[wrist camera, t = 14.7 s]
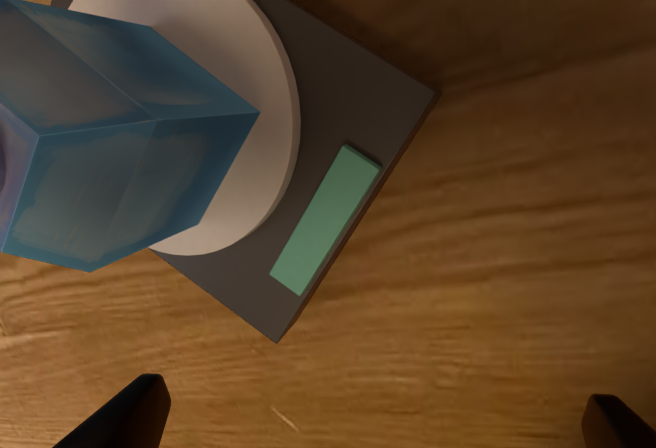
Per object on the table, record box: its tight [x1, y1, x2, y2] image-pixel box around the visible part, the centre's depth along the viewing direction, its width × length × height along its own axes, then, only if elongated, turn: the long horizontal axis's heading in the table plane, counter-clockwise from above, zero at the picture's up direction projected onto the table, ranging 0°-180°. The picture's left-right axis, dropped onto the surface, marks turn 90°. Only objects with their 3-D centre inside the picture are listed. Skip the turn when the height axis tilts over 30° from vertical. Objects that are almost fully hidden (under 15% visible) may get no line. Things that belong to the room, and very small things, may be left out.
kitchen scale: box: [51, 0, 442, 344], centre depth 21 cm, size 18×14×3 cm
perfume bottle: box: [0, 0, 261, 272], centre depth 14 cm, size 6×6×12 cm
